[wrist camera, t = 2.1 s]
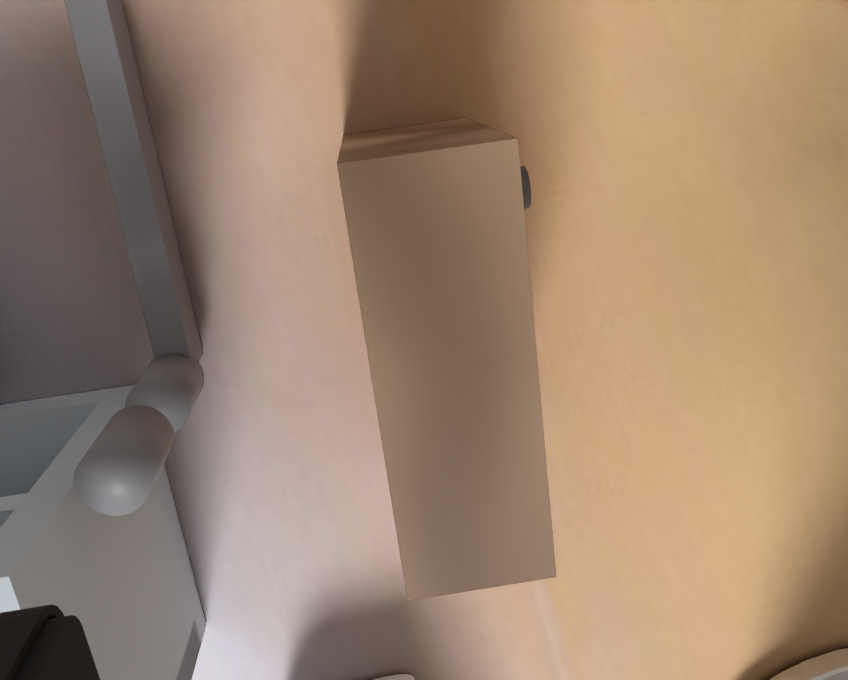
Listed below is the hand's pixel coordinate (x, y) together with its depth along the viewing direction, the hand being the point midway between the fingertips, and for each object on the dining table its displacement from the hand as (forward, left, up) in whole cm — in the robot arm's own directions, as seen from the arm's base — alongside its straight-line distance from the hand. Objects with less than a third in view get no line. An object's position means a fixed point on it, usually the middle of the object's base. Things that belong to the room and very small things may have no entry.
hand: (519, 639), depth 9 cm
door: (0, 0, -16) cm, 16 cm away
